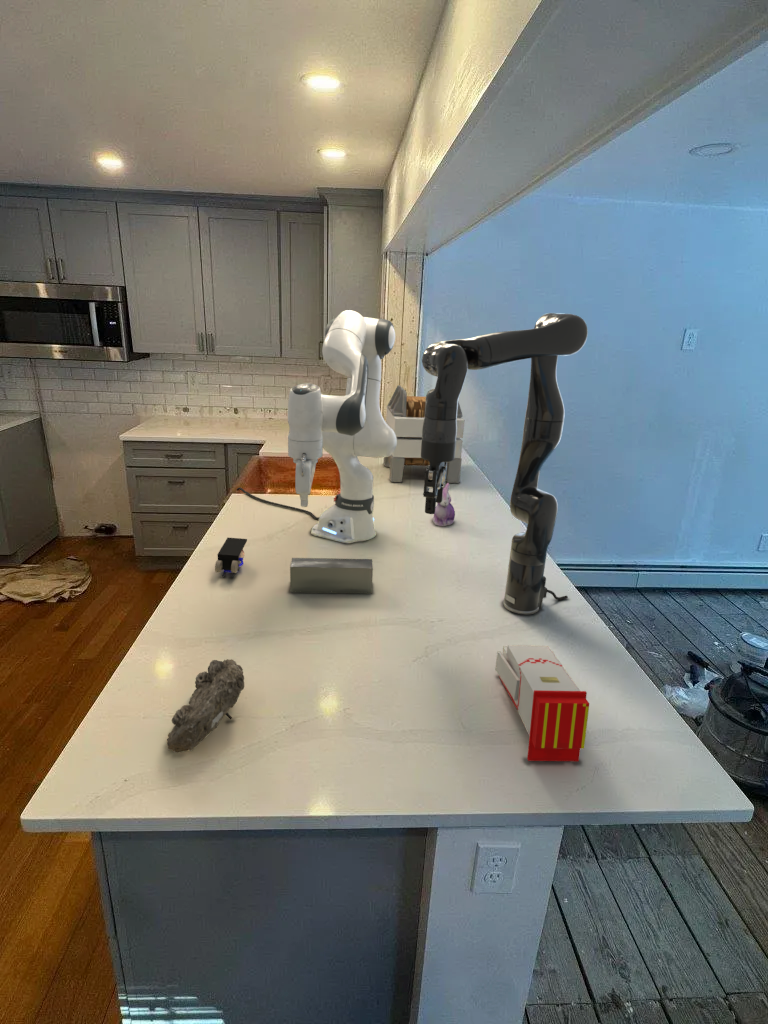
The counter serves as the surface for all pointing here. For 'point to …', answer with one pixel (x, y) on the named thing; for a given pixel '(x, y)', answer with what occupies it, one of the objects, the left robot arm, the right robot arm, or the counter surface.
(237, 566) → the figurine character
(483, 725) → the counter surface
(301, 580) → the bar
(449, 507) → the figurine
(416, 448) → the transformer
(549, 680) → the toy
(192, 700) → the fossil
